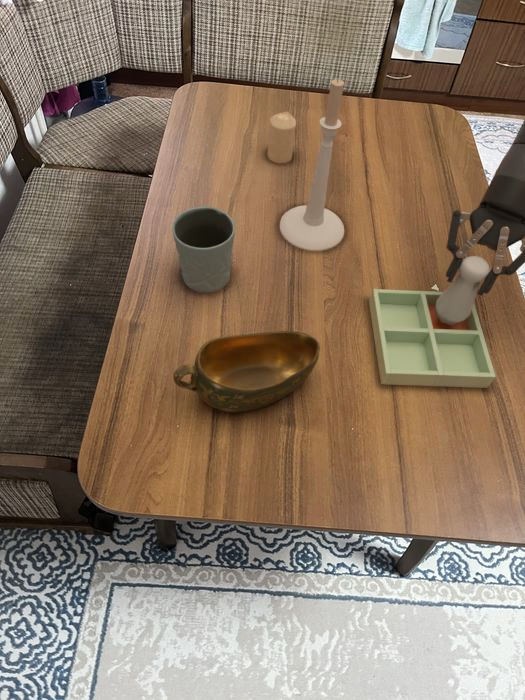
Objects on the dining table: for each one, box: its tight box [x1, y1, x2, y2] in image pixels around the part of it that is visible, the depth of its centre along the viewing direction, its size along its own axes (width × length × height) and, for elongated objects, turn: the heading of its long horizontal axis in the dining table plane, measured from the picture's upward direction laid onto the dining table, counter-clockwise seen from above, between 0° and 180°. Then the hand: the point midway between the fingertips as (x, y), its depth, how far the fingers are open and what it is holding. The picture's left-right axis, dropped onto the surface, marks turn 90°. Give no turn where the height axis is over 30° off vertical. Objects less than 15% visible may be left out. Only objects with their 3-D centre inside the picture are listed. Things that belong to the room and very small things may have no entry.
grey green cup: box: [171, 205, 236, 294], centre depth 91 cm, size 10×10×12 cm
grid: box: [368, 288, 497, 389], centre depth 89 cm, size 17×17×4 cm
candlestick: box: [279, 78, 345, 252], centre depth 93 cm, size 13×13×30 cm
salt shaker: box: [435, 255, 491, 326], centre depth 86 cm, size 6×6×13 cm
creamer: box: [173, 330, 321, 414], centre depth 79 cm, size 13×20×10 cm, turn 82°
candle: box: [267, 111, 297, 164], centre depth 114 cm, size 6×6×10 cm
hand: (464, 287), depth 83 cm, fingers closed on salt shaker, 4 cm apart
